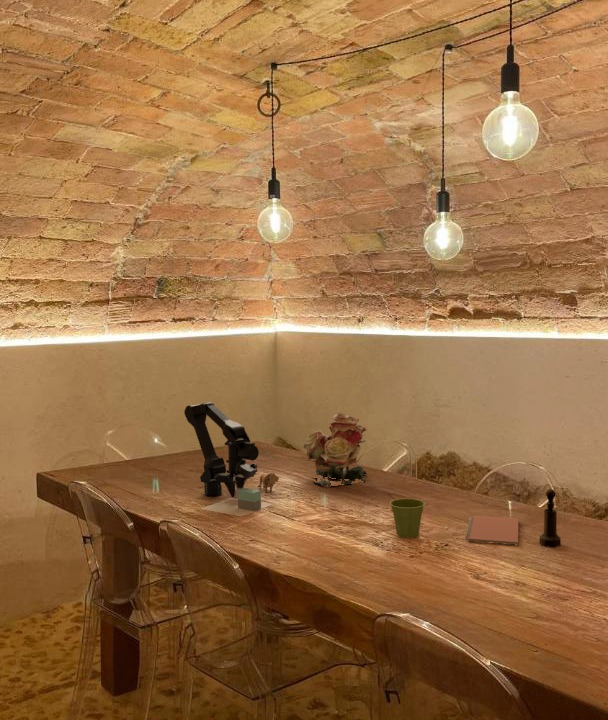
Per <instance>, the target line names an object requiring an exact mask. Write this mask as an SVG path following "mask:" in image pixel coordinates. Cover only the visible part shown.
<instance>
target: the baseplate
mask: <svg viewBox="0 0 608 720" xmlns="http://www.w3.org/2000/svg"><path fill="white" fill-rule="evenodd" d="M272 505H273V503H270V502H263V501H262V499H261V500H259V501H256V502H251V501H245V500H239V499H233V498H227V499H225V500H221V501H219V502H216V503H212V504H210V505H206V506H204V507H202V508H200V509H201V510H204V511H209V512H210V511H211V512H215V513H221V514H227V515H231V516H236V517H244V516H246V515H248V514H251V513H254V512H256V511H259V510H262V509H264V508H266V507H269V506H272Z"/></svg>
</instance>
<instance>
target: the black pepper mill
mask: <svg viewBox="0 0 608 720" xmlns="http://www.w3.org/2000/svg"><path fill="white" fill-rule="evenodd" d="M545 496H546V498H547V502H546V506H547V508H544V509H543V533H541V534H540V536H539V545H540V544H541V546H542V545H544V546H543V547H546V546H550V547H549V548H557V547H556V546H558V547H560V546H561V536H559V535H558V534H557V531H558V530H557V516H558V515H557V514H558V513H557V509H554V507H555V503H554V498H555V497H556V491H555V490H554V489H551V488H549V489H546V491H545ZM559 545H560V546H559Z"/></svg>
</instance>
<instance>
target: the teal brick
mask: <svg viewBox="0 0 608 720" xmlns="http://www.w3.org/2000/svg"><path fill="white" fill-rule="evenodd" d="M261 493H262V490H260V489H252V488H245V487H243V489H240V490H238V499H239V500H245V501H251V502H256V501H259V500H261V501H262V496H261V495H262V494H261Z"/></svg>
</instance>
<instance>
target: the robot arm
mask: <svg viewBox="0 0 608 720" xmlns="http://www.w3.org/2000/svg"><path fill="white" fill-rule="evenodd" d="M184 417H185V418H186V420H187V422H188V424H190V425H191V426H192V427H193V429H194V432H195V434H196V437H197V441H198V444H199V446H200V448H201V453H202V454H203V455H202V456H203V458H204V463H203V470H204V471H203V473H201V475H200V476H199V478H200V482H201V483H203V485H204V486H203V487H204V494H202V496H204V497H209V498H217V497H219V496H223V495H224V493H223V492H222V491H223V490H222V489H223V487H222V484H224V485H225V488H227V489H228V491H229V493H230V495H231V497H234V496H235V487H238V488H245V487H244V486H245V483H246V482H247V481H248V480H249V479H250V478H254V476H255V475H256V474H257V472H258V464H257V463H255V462H253V463H251V464H247V461H246V460H248V461H255V460H257V458H258V456H259V453H260V452H259V449H258V447H257V446H255V442H251V439H250V437H249V436H248V435H249V434H248V433H247V431H246V428H245V427H244V425H242V424H240V423H239V422H236V421H233V420H231V419H230V418H229V417H228V416H226V415H225V413H223V412H222V411H221V410H220V409H219V408H218V407H217V406H216V405H215V404H214V402H211V401H208V402H203V403H197V404H191V405H187V406H186V407H185V408H184ZM207 417H208V418H209V419H211V420H212V421H213V423H215V424H216V425H217V426H218V427H219V428H220V429H221V433H222V435H223V436H224V437H225V438H226V441H225V443H224V446H228V449H227V451H228V452H227V453H228V459H226V461H225V460H224V458H223V457H220V456H218V455H217V453H216V450H215V447H214V445H213V442H212V439H211V436H210V433H209V430H208V427H207V424H206V420H207ZM225 463H228V469H227V464H225Z"/></svg>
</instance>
